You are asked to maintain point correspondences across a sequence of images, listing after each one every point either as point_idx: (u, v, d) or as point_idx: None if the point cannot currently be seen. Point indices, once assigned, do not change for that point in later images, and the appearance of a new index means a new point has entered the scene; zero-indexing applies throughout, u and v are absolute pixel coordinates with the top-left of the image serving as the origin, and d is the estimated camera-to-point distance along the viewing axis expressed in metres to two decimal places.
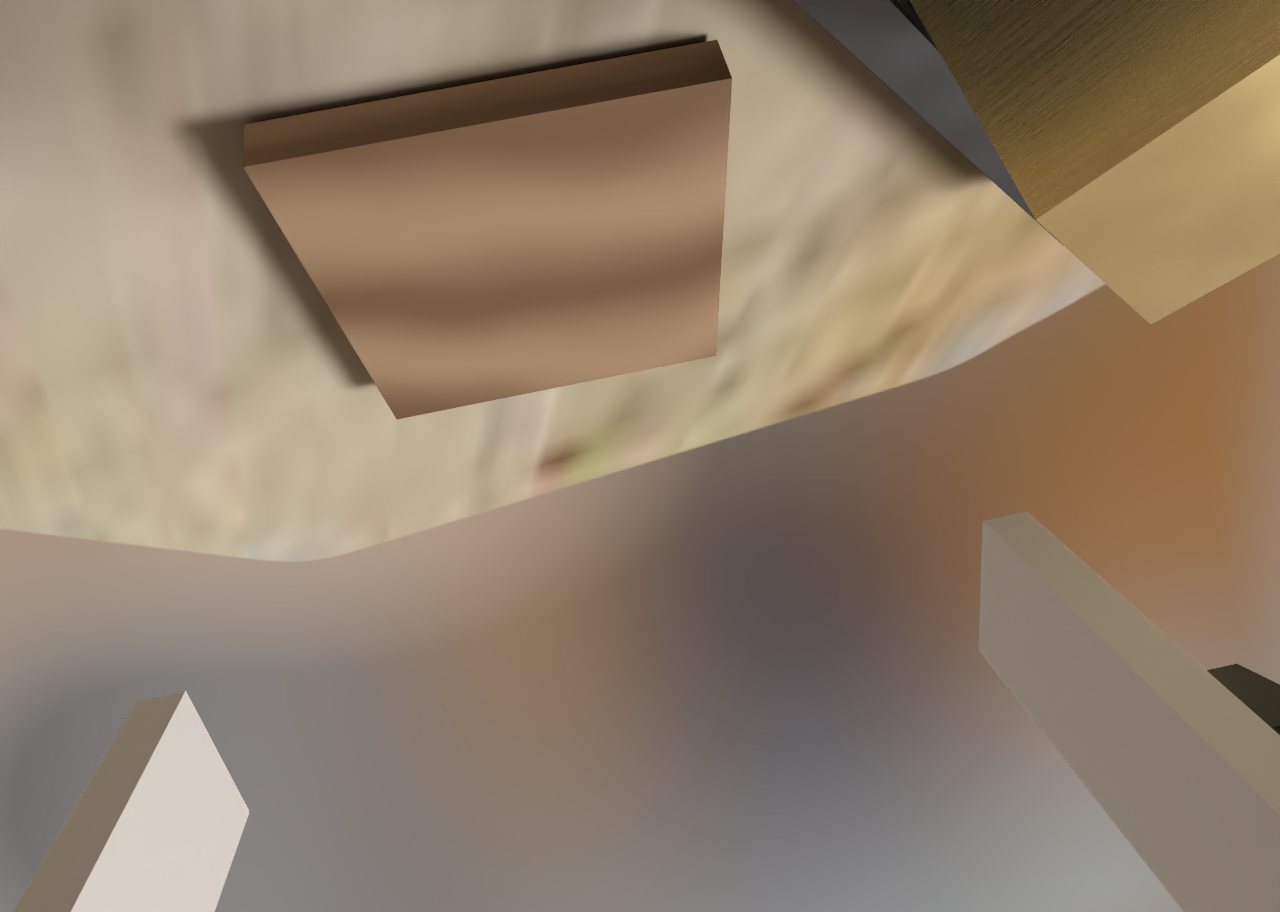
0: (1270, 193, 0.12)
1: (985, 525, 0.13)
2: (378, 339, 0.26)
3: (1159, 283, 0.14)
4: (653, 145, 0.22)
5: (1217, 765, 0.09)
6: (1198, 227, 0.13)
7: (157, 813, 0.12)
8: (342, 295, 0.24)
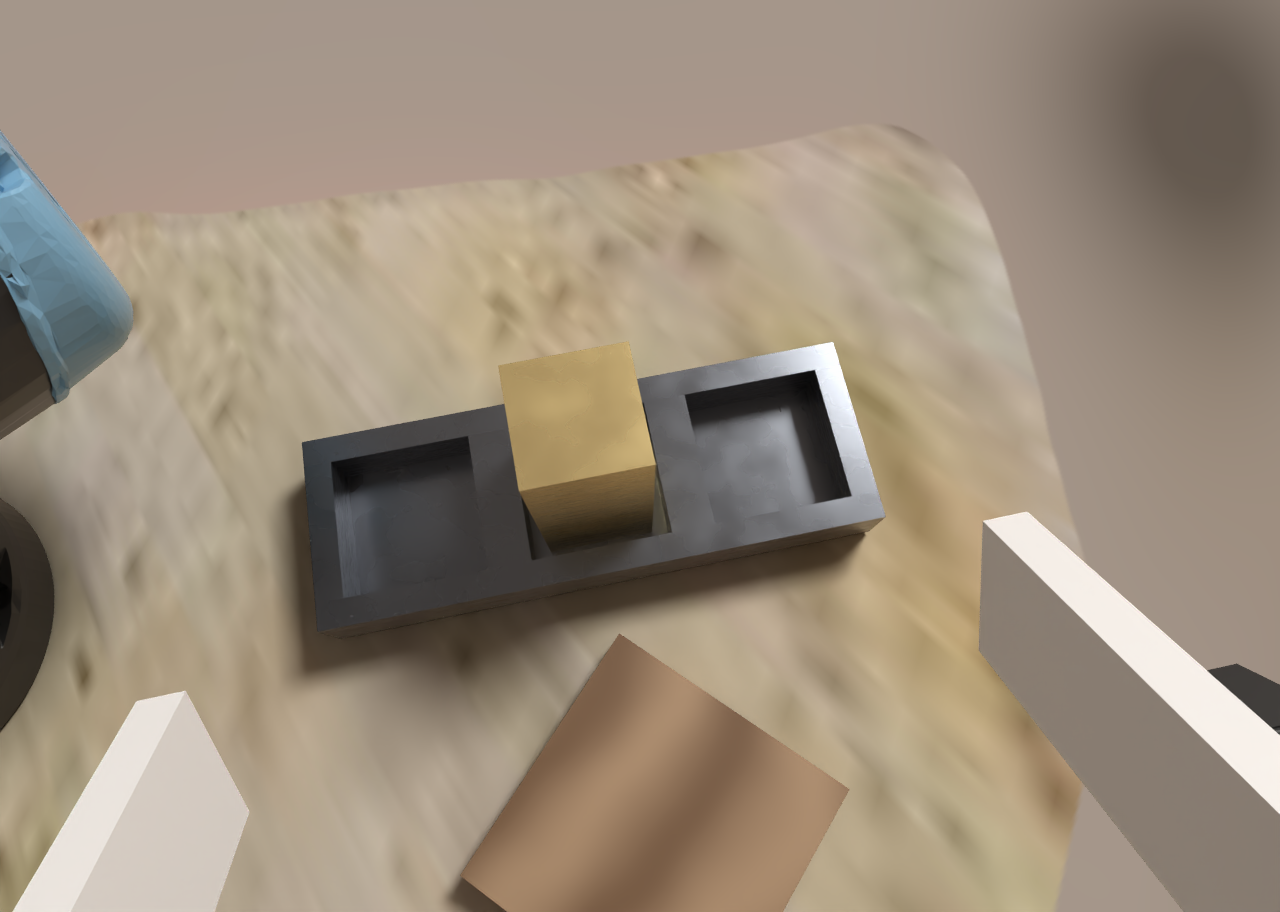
0: (588, 415, 0.31)
1: (984, 526, 0.13)
2: None
3: (618, 457, 0.30)
4: (624, 692, 0.37)
5: (1217, 765, 0.09)
6: (587, 440, 0.30)
7: (157, 813, 0.12)
8: None
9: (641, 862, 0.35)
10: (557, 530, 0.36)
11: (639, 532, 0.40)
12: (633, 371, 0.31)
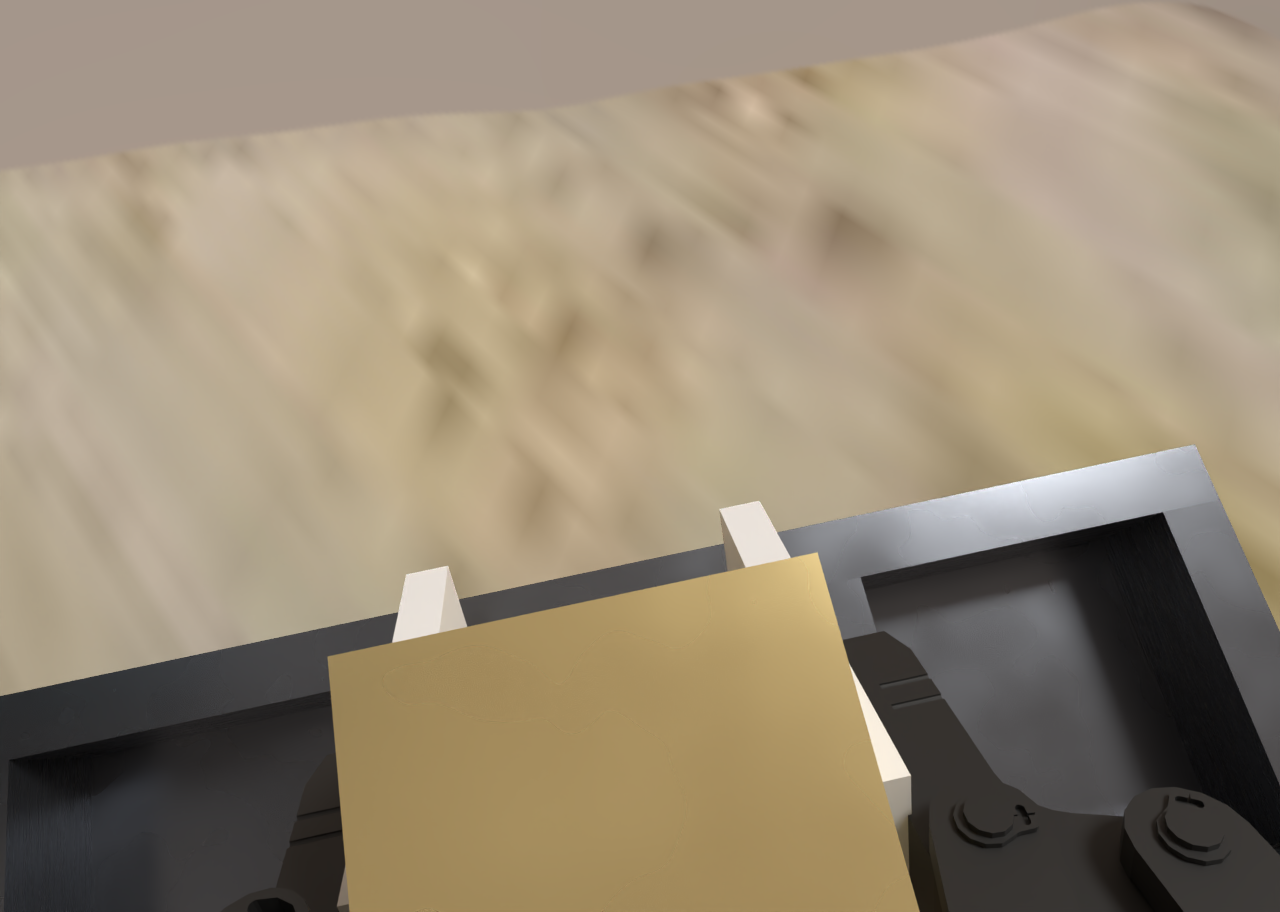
0: (680, 881, 0.08)
1: (720, 513, 0.15)
2: None
3: None
4: None
5: None
6: None
7: None
8: None
9: None
10: None
11: None
12: (846, 678, 0.08)
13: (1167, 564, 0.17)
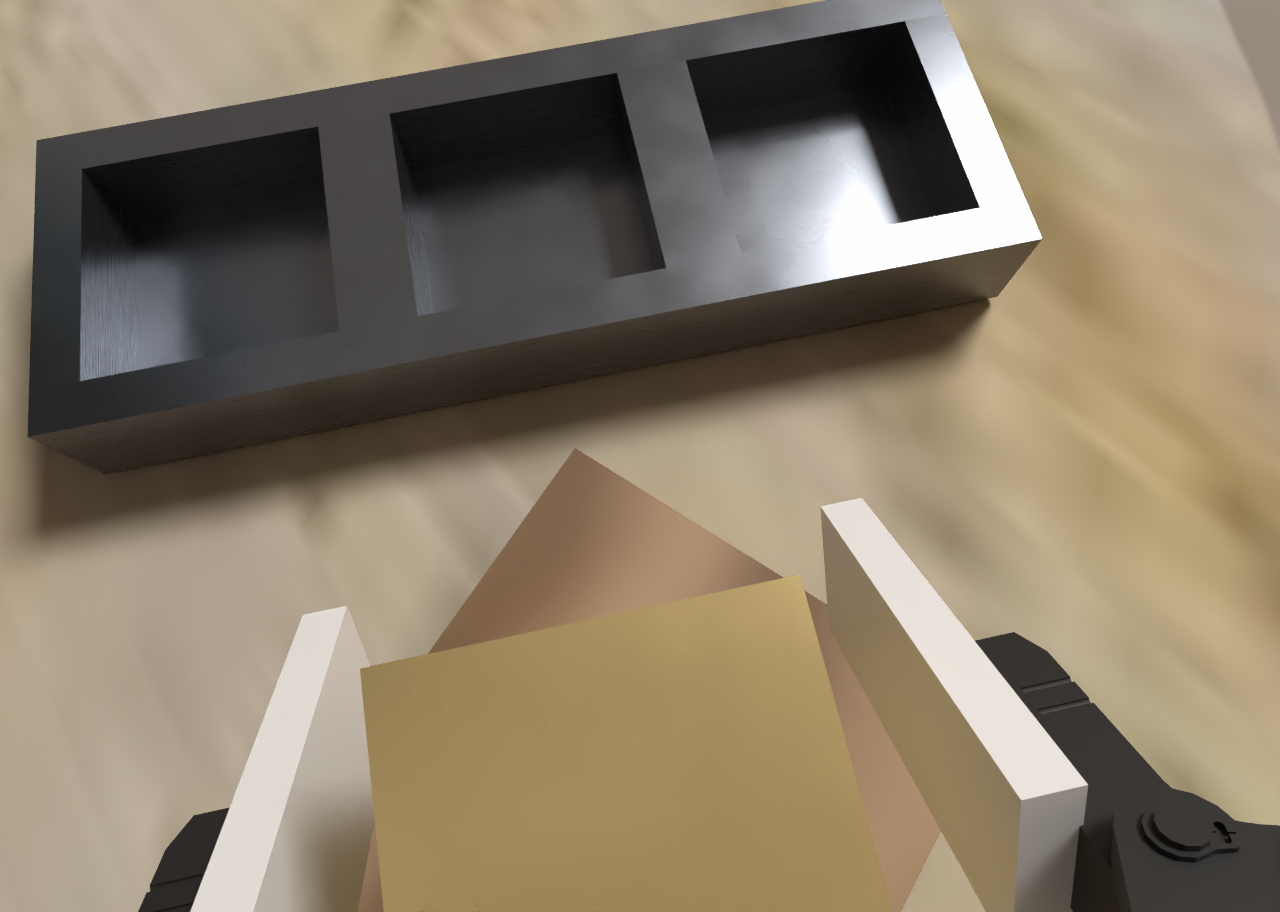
0: (676, 869, 0.08)
1: (822, 511, 0.15)
2: None
3: None
4: (582, 546, 0.21)
5: (957, 716, 0.10)
6: None
7: (338, 706, 0.13)
8: None
9: None
10: None
11: None
12: (825, 688, 0.09)
13: (909, 62, 0.24)
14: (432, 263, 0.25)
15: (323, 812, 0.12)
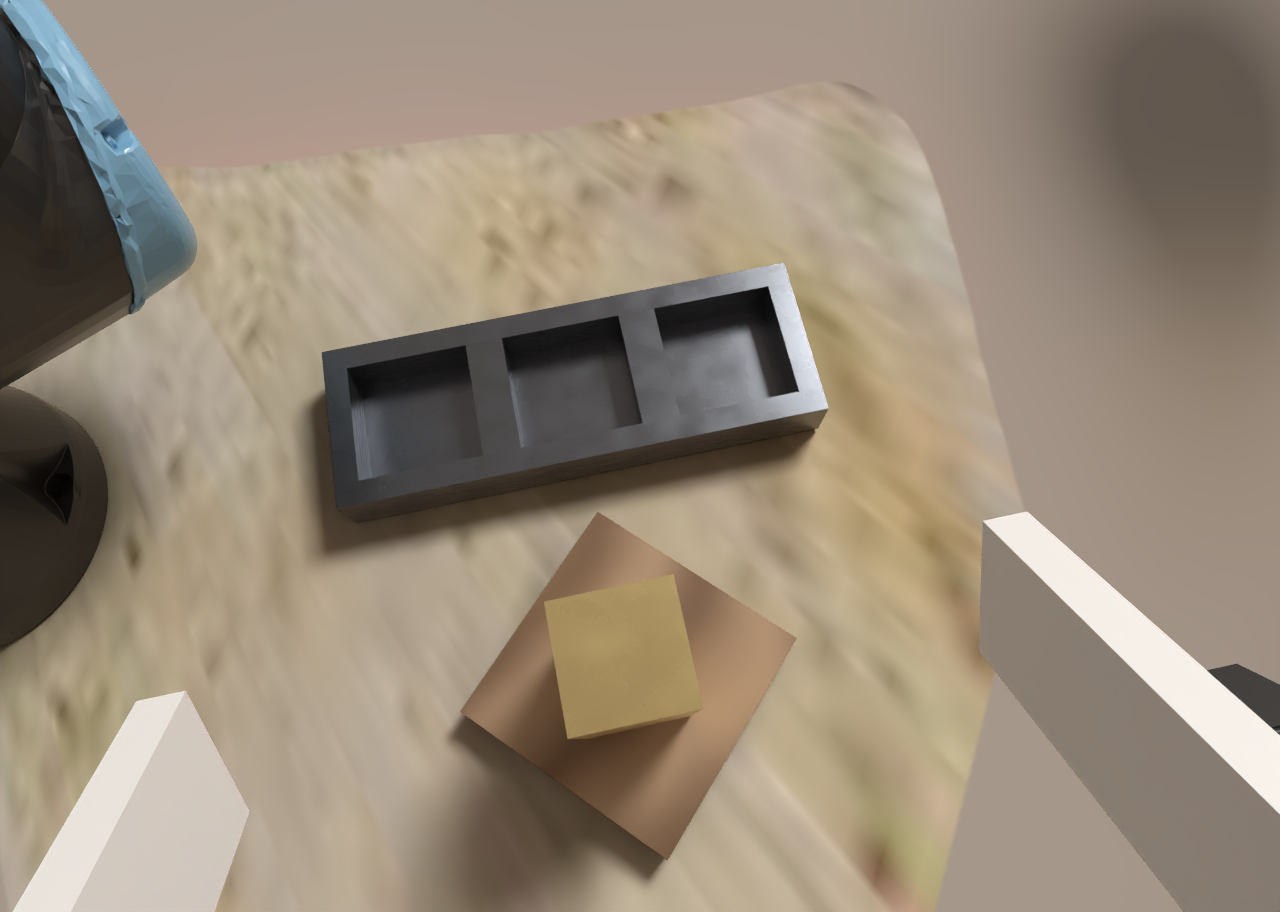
0: (635, 655, 0.31)
1: (985, 526, 0.13)
2: (593, 783, 0.40)
3: (666, 701, 0.30)
4: (601, 560, 0.43)
5: (1217, 765, 0.09)
6: (634, 682, 0.30)
7: (157, 813, 0.12)
8: (550, 761, 0.40)
9: None
10: (599, 735, 0.36)
11: None
12: (679, 607, 0.31)
13: (771, 306, 0.46)
14: (521, 410, 0.47)
15: None
